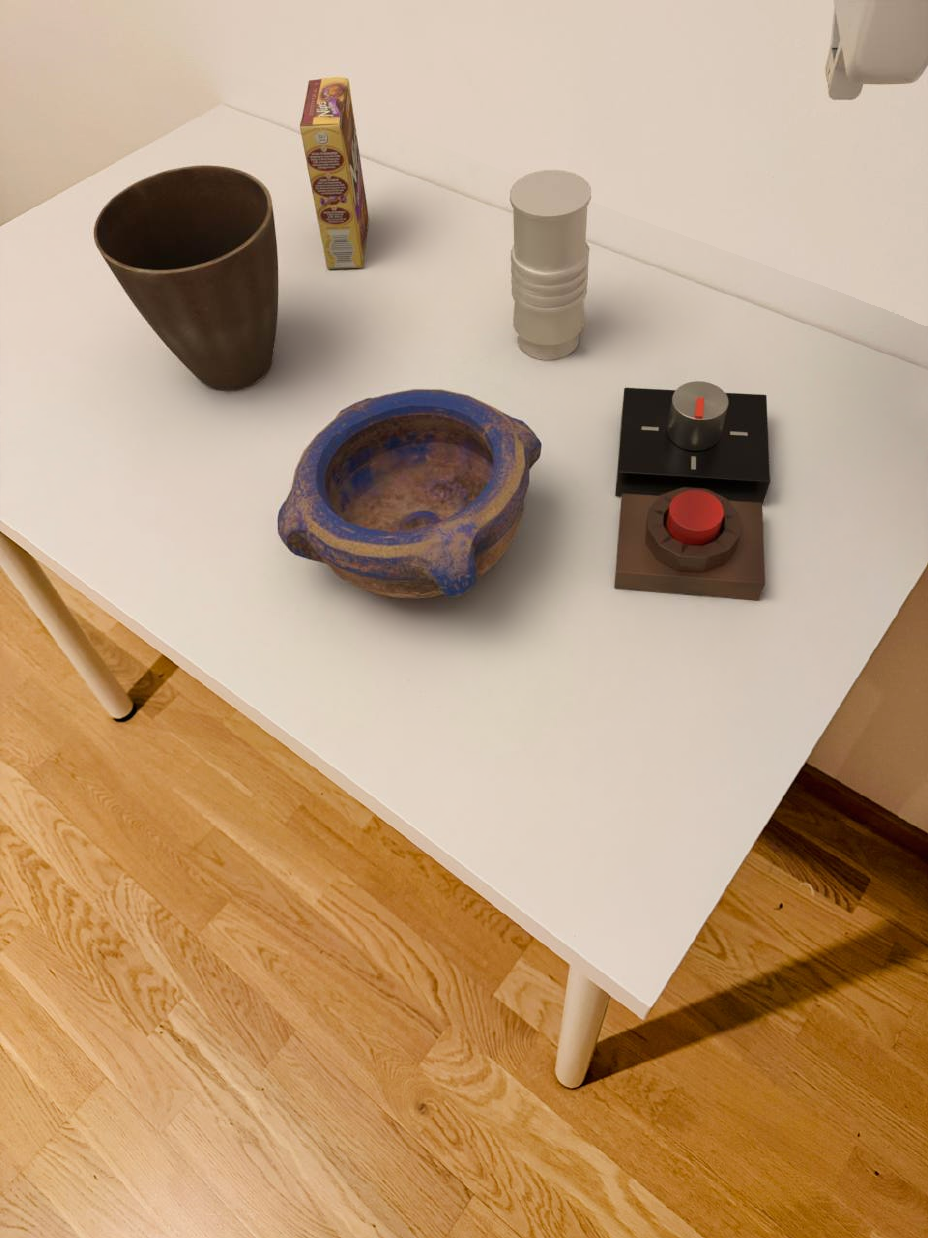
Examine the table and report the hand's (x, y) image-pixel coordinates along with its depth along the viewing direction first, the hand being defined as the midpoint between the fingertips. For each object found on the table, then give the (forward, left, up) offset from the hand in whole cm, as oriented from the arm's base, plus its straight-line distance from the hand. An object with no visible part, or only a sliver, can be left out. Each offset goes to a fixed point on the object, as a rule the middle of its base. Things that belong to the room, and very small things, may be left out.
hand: (840, 87), depth 53 cm
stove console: (+5, +2, -30) cm, 30 cm away
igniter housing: (+5, +12, -30) cm, 32 cm away
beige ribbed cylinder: (+18, -13, -30) cm, 37 cm away
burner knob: (+5, +2, -27) cm, 27 cm away
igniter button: (+5, +12, -26) cm, 29 cm away
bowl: (+26, +13, -30) cm, 42 cm away
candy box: (+41, -27, -30) cm, 57 cm away
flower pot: (+48, -7, -30) cm, 57 cm away
